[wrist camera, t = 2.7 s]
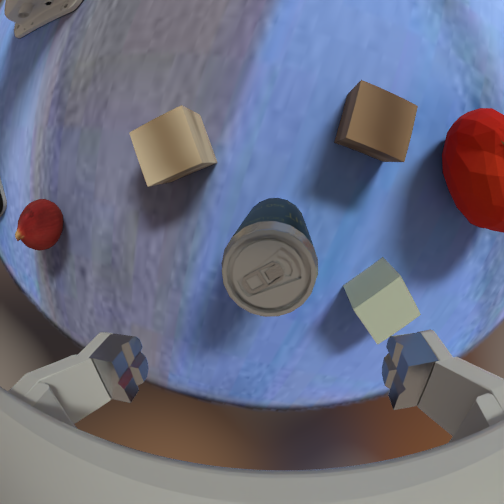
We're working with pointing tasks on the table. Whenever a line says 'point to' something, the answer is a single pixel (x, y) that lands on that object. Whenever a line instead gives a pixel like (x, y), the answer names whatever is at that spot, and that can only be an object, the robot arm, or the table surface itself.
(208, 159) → the beech block
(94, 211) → the table surface
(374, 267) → the sage painted block
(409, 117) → the walnut block
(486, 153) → the tomato
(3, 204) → the remote control
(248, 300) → the beer can
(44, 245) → the onion
